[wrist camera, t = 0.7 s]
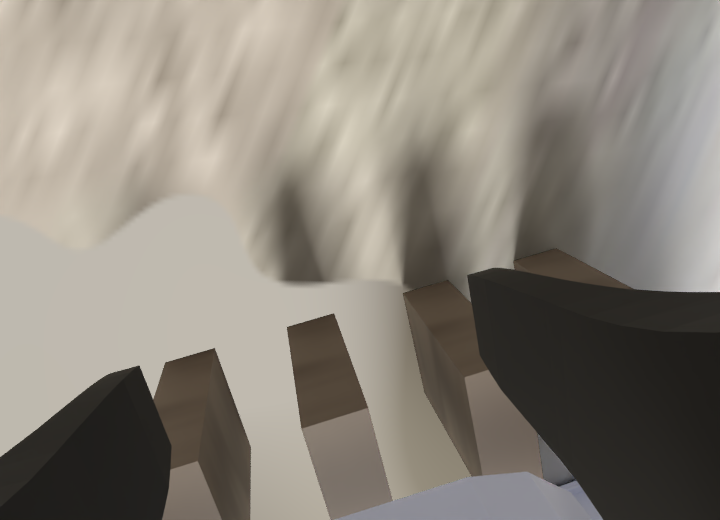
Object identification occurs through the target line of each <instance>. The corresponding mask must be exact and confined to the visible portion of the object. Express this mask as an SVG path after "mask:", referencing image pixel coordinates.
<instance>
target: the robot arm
mask: <svg viewBox="0 0 720 520" xmlns="http://www.w3.org/2000/svg"><path fill="white" fill-rule="evenodd" d="M467 276H468V283H469V289H470V296H471V302H472V309H473V315H474V322H475V328H476V335H477V341H478V348H479V354H480V357H481V358H482V360H483V362H484V363H485V365H486V367H487V368H488V370H489V372H490V373H491V375H492V377H493V378H494V380H495V381H496V383H497V384H498V386H499V388H500V389H501V390H502V391H503V393H504V394H505V395H506V396H507V397H508V399H509V400H510V401H511V402H512V403H513V405H514V406H515V407H516V408H517V409H518V411H519V412H520V413H521V414H522V415H523V416H524V418H525V419H526V420H527V421H528V422H529V423H530V425H531V426H532V427H533V428H534V429H535V430H536V432H537V433H538V434H539V435H540V436H541V437H542V439H543V440H544V441H545V442H546V443H547V444H548V446H549V447H550V448H551V449H552V450H553V451H554V453H555V454H556V455H557V456H558V457H559V458H560V460H561V461H562V462H563V463H564V465H565V466H566V467H567V469H568V470H569V471H570V472H571V474H572V475H573V476H574V478H575V479H576V481H574V482H571V483H568V484H565V485H562V486H559V487H558V486H556V485H554V484H552V483H550V482H548V481H546V480H544V479H541V478H539V477H537V476H535V475H533V474H531V473H529V472H518V473H507V474H496V475H485V476H474V477H466V478H463V479H460V480H457V481H454V482H451V483H448V484H444V485H441V486H439V487H435V488H432V489H429V490H426V491H423V492H420V493H416V494H413V495H410V496H407V497H404V498H401V499H397V500H394V501H391V502H388V503H385V504H382V505H379V506H375V507H372V508H369V509H366V510H363V511H360V512H357V513H354V514H350V515H347V516H344V517H341V518H338V519H335V520H720V292H663V291H648V290H634V289H624V288H615V287H608V286H601V285H594V284H587V283H581V282H575V281H569V280H564V279H559V278H554V277H548V276H543V275H538V274H533V273H528V272H523V271H517V270H511V269H504V268H492V269H488V270H484V271H481V272H477V273H473V274H470V275H467ZM171 449H172V445H171V443H170V441H169V438H168V436H167V433H166V431H165V428H164V426H163V423H162V421H161V418H160V416H159V413H158V411H157V408H156V406H155V403H154V401H153V399H152V396H151V393H150V391H149V388H148V386H147V383H146V381H145V379H144V376H143V374H142V371H141V369H140V366H136V367H132V368H129V369H125V370H122V371H118V372H114V373H111V374H108V375H106V376H105V377H103V378H102V379H100V380H98V381H97V382H96V383H94V384H93V385H91V386H90V387H89V388H87V389H86V390H85V391H84V392H82V393H81V394H80V395H79V396H77V397H76V398H75V399H74V400H72V401H71V402H70V403H69V404H67V405H66V406H65V407H64V408H63V409H61V410H60V411H59V412H58V413H56V414H55V415H54V416H53V417H51V418H50V419H49V420H48V421H47V422H45V423H44V424H43V425H42V426H40V427H39V428H38V429H37V430H35V431H34V432H33V433H31V434H30V435H29V436H27V437H26V438H25V439H24V440H22V441H21V442H20V443H18V444H17V445H16V446H14V447H13V448H12V449H10V450H9V451H8V452H7V453H5V454H4V455H3V456H1V457H0V520H162V518H163V514H164V509H165V505H166V500H167V495H168V490H169V480H170V468H171Z"/></svg>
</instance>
